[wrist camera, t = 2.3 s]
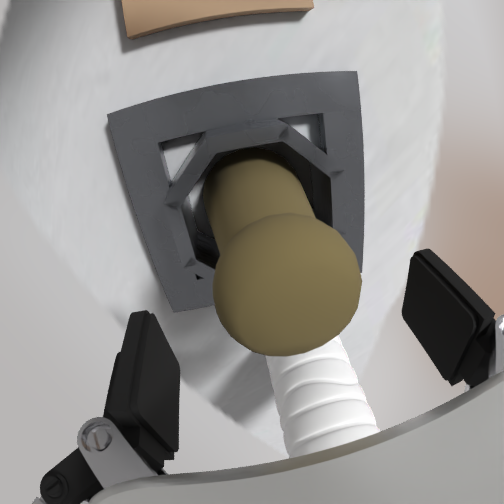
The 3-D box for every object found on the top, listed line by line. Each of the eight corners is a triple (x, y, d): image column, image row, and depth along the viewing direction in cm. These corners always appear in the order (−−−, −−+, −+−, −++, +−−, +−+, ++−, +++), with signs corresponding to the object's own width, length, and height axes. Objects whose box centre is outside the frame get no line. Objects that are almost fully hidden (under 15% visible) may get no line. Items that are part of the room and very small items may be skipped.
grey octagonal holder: (112, 112, 14) (90, 119, 12) (349, 71, 15) (378, 70, 12) (174, 303, 22) (171, 337, 19) (356, 265, 22) (376, 292, 19)
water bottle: (259, 321, 24) (335, 644, 3) (337, 306, 24) (456, 595, 3) (268, 381, 28) (321, 616, 7) (330, 367, 29) (406, 588, 8)
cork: (219, 249, 20) (233, 394, 11) (189, 164, 17) (166, 272, 8) (307, 224, 20) (383, 349, 11) (289, 136, 17) (389, 208, 7)
